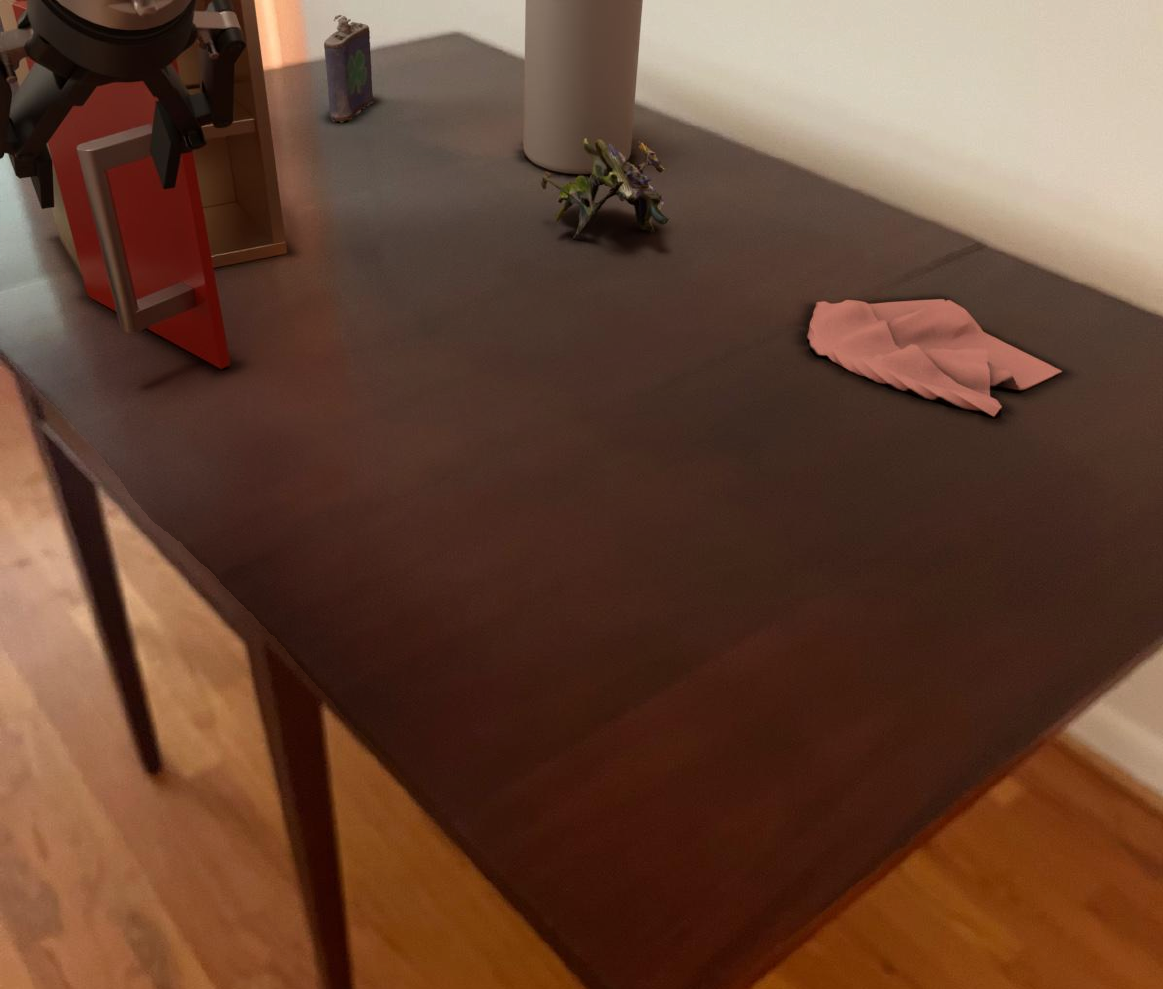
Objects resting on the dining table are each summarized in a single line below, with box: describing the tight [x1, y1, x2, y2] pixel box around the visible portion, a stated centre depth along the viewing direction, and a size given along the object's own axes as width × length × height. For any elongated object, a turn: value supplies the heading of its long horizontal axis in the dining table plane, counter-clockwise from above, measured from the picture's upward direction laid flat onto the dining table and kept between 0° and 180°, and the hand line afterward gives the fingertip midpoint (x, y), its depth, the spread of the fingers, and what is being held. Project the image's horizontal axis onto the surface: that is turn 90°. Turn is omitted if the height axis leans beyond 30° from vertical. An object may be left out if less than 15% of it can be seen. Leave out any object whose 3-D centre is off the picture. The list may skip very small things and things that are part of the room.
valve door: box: [12, 1, 231, 370], centre depth 87 cm, size 7×18×24 cm, turn 52°
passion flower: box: [540, 138, 670, 240], centre depth 114 cm, size 11×11×12 cm
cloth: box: [806, 298, 1063, 418], centre depth 100 cm, size 20×22×2 cm
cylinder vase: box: [522, 0, 644, 175], centre depth 123 cm, size 12×12×25 cm
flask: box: [323, 14, 374, 124], centre depth 136 cm, size 9×3×11 cm, turn 163°
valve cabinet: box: [0, 0, 288, 279], centre depth 101 cm, size 12×18×24 cm, turn 121°
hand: (102, 177), depth 73 cm, fingers open, 7 cm apart
